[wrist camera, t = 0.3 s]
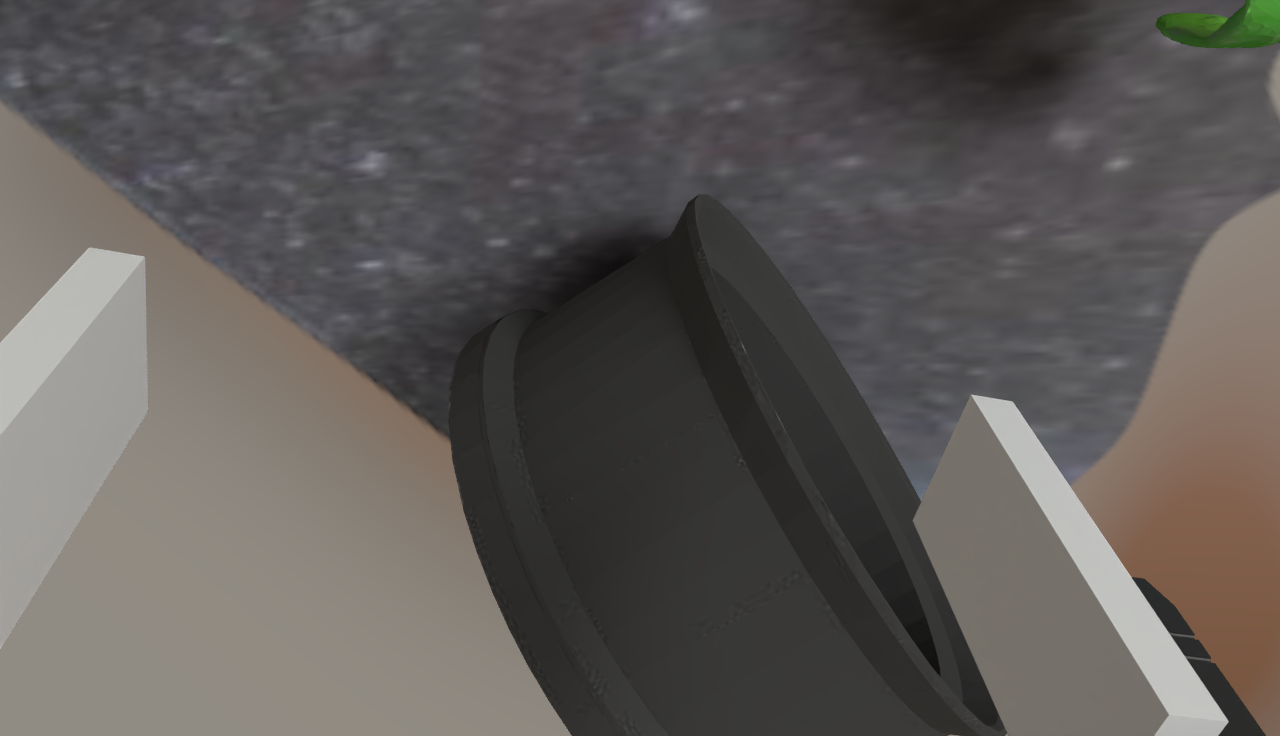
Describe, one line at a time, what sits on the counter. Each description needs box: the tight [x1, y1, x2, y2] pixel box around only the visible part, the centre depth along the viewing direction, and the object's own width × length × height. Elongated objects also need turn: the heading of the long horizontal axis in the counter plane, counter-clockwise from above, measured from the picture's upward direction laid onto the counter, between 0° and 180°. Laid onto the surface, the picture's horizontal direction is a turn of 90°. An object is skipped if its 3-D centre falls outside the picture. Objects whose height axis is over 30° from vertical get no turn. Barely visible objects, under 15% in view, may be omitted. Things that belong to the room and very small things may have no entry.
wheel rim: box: [449, 195, 1007, 736], centre depth 36 cm, size 20×9×20 cm, turn 34°
